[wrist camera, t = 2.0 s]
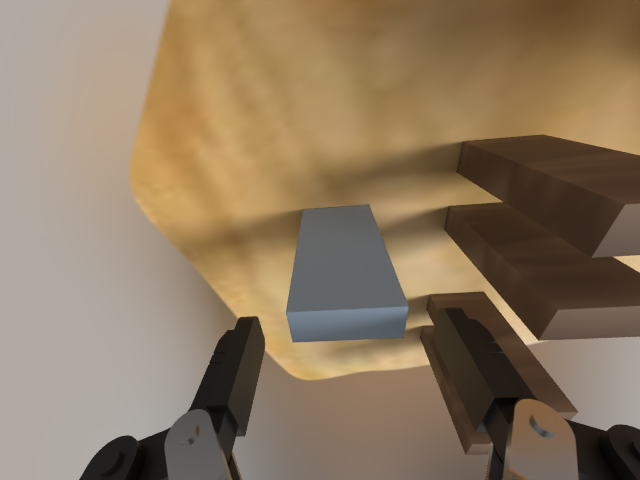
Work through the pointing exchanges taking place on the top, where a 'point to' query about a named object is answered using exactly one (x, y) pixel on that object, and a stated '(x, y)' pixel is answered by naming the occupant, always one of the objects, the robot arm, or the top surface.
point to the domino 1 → (343, 279)
